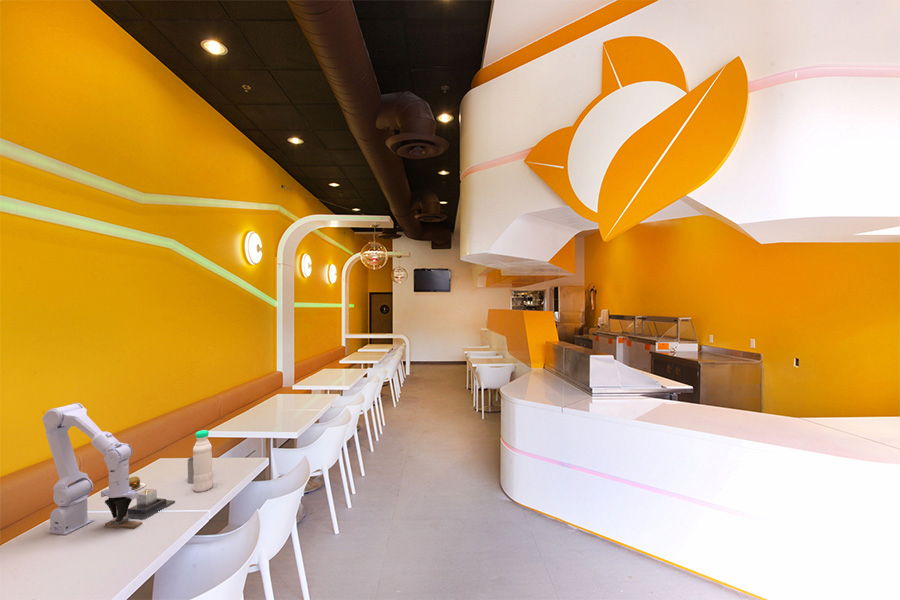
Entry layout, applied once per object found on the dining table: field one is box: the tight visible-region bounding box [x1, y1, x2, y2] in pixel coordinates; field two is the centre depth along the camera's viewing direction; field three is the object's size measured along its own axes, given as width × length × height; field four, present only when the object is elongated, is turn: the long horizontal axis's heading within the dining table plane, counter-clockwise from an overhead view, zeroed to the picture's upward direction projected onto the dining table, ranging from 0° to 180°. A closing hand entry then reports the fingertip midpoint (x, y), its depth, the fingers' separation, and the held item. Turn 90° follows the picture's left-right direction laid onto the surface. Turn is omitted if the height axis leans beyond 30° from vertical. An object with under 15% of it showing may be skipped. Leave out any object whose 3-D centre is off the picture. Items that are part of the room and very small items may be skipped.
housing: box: [136, 488, 158, 509], centre depth 156 cm, size 4×4×7 cm
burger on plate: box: [129, 476, 146, 492], centre depth 175 cm, size 12×12×6 cm
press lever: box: [110, 506, 130, 525], centre depth 144 cm, size 4×4×7 cm
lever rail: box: [104, 518, 143, 530], centre depth 144 cm, size 3×13×1 cm, turn 78°
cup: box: [187, 456, 194, 485], centre depth 182 cm, size 8×8×10 cm
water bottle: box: [192, 429, 213, 493], centre depth 172 cm, size 7×7×25 cm
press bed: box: [126, 497, 176, 520], centre depth 155 cm, size 13×13×2 cm
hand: (119, 517), depth 144 cm, fingers closed on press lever, 2 cm apart
